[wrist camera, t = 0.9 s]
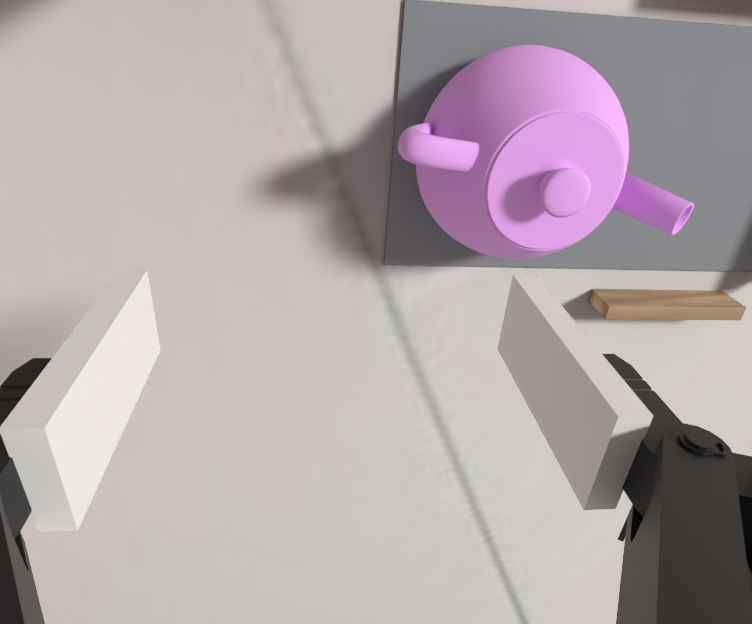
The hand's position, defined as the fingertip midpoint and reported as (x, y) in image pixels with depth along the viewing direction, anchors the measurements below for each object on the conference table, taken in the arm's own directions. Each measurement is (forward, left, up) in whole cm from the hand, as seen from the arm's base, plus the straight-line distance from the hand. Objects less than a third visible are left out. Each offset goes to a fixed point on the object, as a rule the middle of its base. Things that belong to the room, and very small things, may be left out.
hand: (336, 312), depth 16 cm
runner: (0, +22, -24) cm, 32 cm away
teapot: (0, +14, -24) cm, 28 cm away
